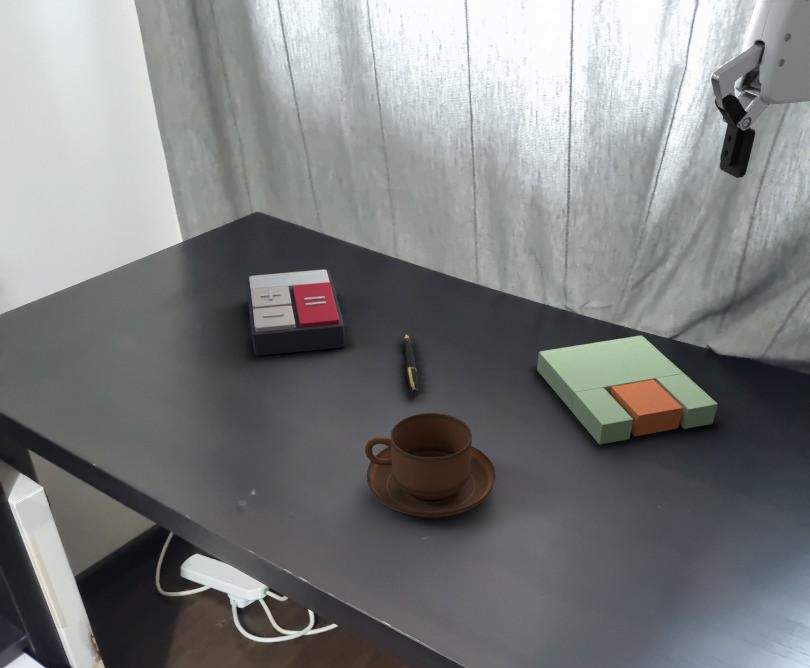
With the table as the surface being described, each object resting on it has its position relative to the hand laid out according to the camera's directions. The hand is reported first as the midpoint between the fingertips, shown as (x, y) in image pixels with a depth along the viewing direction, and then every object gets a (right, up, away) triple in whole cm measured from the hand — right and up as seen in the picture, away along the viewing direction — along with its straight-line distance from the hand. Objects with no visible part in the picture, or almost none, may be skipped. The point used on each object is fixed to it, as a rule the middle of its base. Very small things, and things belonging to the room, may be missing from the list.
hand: (777, 167), depth 76 cm
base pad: (-11, -19, +14) cm, 26 cm away
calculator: (-48, -7, +29) cm, 57 cm away
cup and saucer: (-32, -30, +2) cm, 44 cm away
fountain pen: (-34, -15, +20) cm, 42 cm away
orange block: (-9, -21, +11) cm, 26 cm away
